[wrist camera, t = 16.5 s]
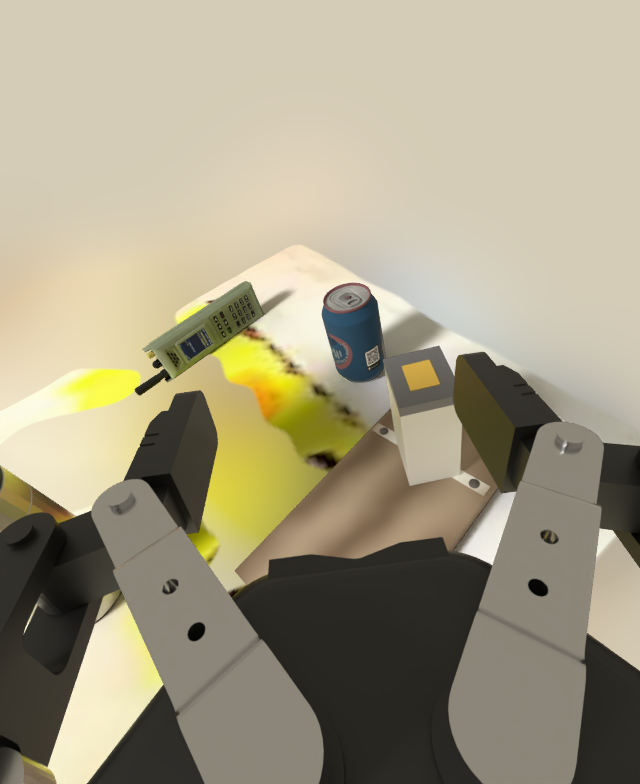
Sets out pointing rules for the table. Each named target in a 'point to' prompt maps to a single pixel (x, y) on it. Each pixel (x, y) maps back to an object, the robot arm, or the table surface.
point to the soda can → (354, 331)
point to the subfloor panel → (376, 505)
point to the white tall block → (424, 414)
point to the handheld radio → (202, 333)
